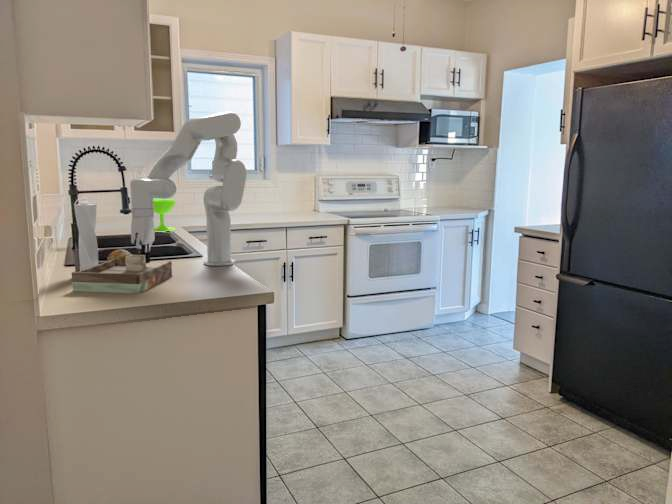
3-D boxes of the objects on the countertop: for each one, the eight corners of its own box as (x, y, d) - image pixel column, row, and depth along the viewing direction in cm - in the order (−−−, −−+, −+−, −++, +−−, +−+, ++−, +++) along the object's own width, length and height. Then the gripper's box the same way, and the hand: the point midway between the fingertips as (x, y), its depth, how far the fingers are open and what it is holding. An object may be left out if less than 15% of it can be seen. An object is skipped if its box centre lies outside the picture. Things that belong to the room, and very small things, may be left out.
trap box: (113, 274, 194) (112, 258, 193) (172, 276, 192) (171, 259, 191) (72, 291, 169) (71, 272, 168) (139, 293, 167) (138, 274, 166)
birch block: (132, 268, 190) (131, 254, 190) (146, 268, 190) (145, 254, 189) (125, 270, 186) (125, 256, 185) (139, 271, 185) (138, 257, 184)
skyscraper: (77, 272, 195) (72, 196, 191) (101, 271, 198) (97, 196, 194) (75, 277, 188) (69, 198, 183) (100, 276, 190) (95, 198, 186)
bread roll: (134, 274, 212) (141, 255, 213) (111, 266, 204) (118, 247, 206) (122, 270, 218) (129, 252, 220) (99, 263, 211) (107, 244, 212)
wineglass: (179, 231, 311) (178, 200, 308) (151, 233, 303) (150, 201, 300) (172, 228, 325) (171, 199, 322) (145, 229, 316) (143, 199, 313)
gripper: (142, 211, 200) (144, 258, 203) (122, 214, 185) (125, 266, 188) (161, 211, 199) (163, 259, 202) (143, 215, 184) (145, 267, 187)
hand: (145, 262), depth 195 cm, fingers closed
